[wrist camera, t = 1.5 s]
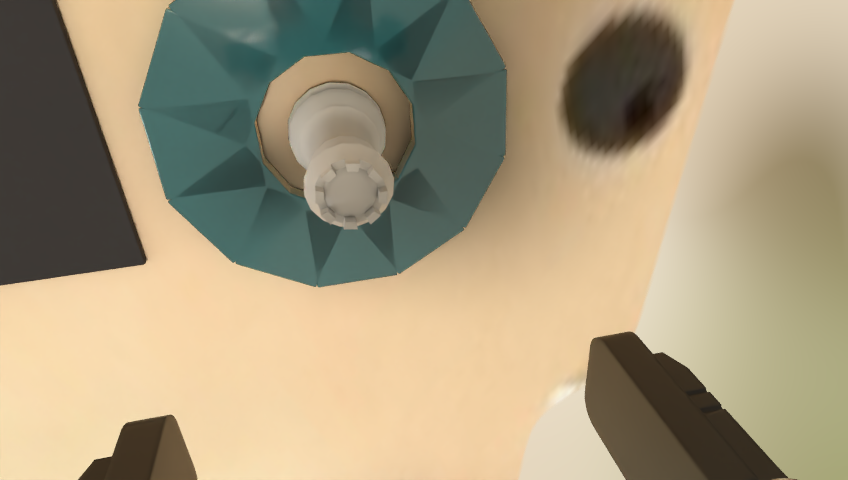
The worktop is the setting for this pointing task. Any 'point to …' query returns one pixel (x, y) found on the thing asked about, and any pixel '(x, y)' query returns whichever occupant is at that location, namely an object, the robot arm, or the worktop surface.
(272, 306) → the worktop surface
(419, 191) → the teal faceted ring
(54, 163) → the coaster
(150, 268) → the worktop surface
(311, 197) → the rook chess piece
